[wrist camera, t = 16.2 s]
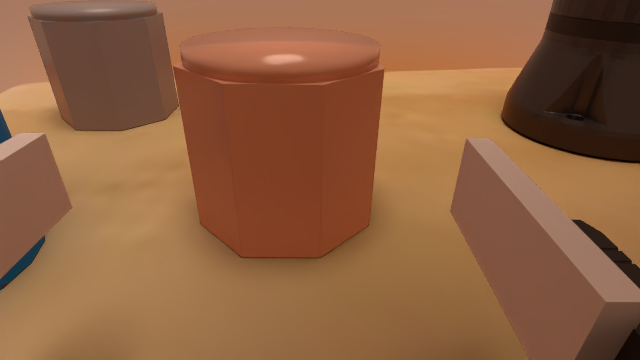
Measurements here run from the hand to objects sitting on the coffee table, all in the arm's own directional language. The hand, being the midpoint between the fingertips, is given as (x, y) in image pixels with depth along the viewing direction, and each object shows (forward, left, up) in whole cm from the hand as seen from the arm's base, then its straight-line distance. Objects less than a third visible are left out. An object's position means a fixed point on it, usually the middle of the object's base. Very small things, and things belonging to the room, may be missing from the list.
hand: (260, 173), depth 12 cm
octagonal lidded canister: (0, -10, -8) cm, 12 cm away
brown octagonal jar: (+18, -27, -8) cm, 33 cm away
